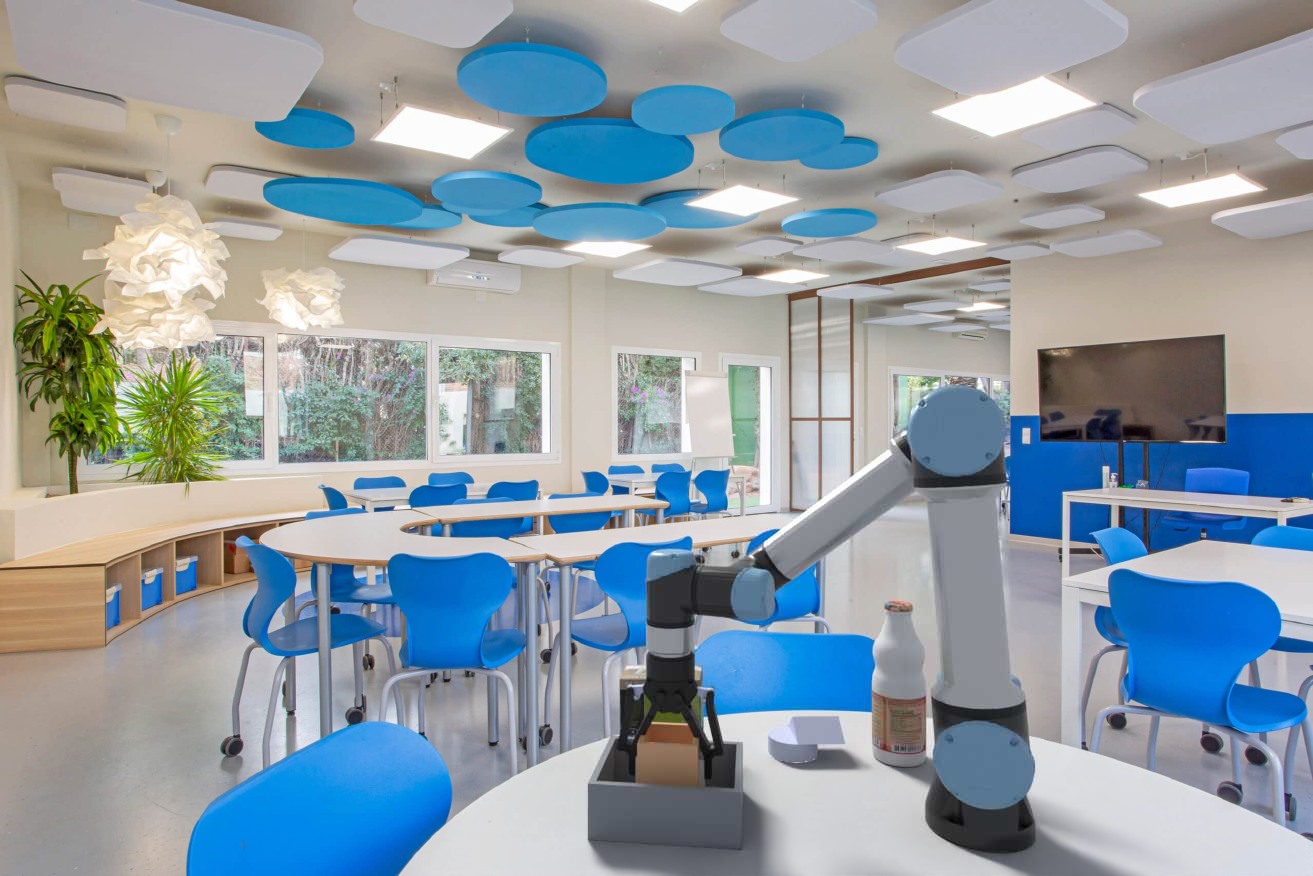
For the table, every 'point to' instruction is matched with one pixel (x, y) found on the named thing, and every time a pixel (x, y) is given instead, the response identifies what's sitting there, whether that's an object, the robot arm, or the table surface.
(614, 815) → the large crate
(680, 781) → the small crate
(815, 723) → the wedge on round base
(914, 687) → the fruit juice
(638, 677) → the tea box
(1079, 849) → the table surface
